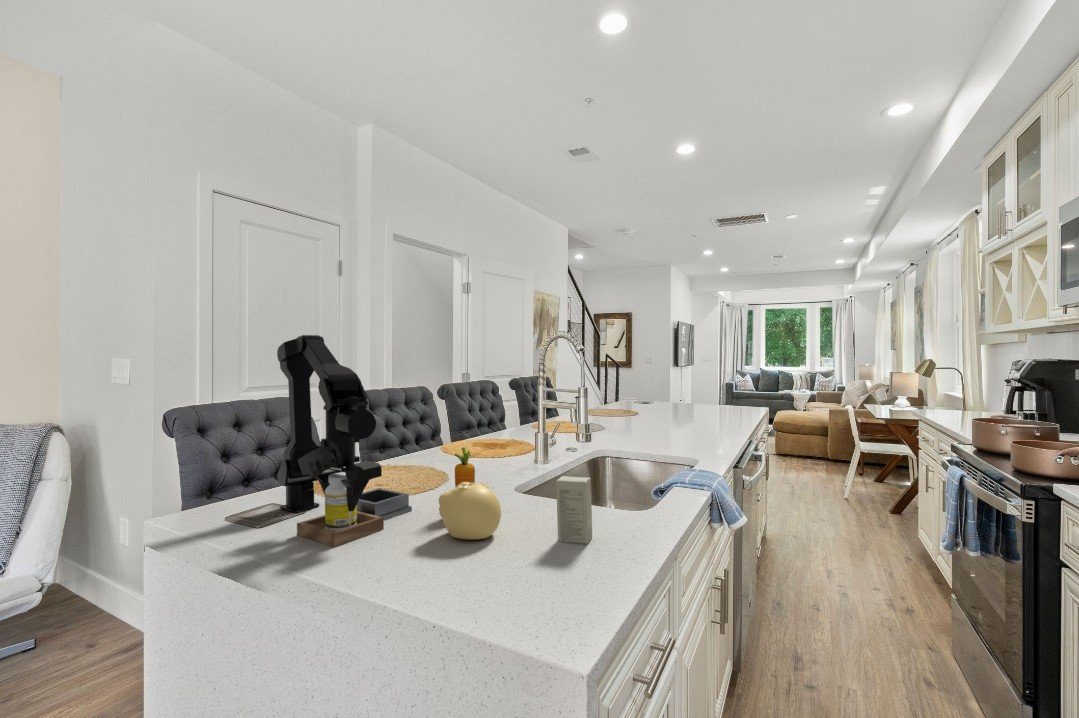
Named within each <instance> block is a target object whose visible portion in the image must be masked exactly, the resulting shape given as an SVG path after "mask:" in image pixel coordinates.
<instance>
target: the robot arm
mask: <svg viewBox="0 0 1079 718" xmlns="http://www.w3.org/2000/svg"><path fill="white" fill-rule="evenodd" d="M276 353H277V354H276V356H277V360H278V363H279V368H280V370H281V372H282V374H283V375H284V377H286V378H287V381H288V382H287V383H288V403H289V404H288V405H289V407H288V408H289V426H290V428H289V429H290V441H289V443H288V445H287V447H286V448H285V450H284V451H283V460H282V461H281V464H280V466H279V470H278V472H277V483H278V484H279V485H282V487H285V504H283V505H280V506H279V509H280V508H281V510H284V509H285V510H284V511H288V510H289V511H288V512H292V511H293V513H299V512H298V511H300V512H302V511H307V510H310V509H313V508H318V507H319V506H320V503H319V502H315V488H314V485H315V484H314V482H319V485H320V487H321V489H322V490H321V491H322V492H323V495H324V496H325V489H326V488H327V487H328V486H329V485H330V483H329V481H328V480H329V475H331V474H334V473H341V472H345V473H346V477H347V479H344V480H341V482H342V483H343V484H344V485H345V486H346V489H347V503H348V510H349V511H353V510H354V509H355V507H356V505H357V503H358V501H359V499H360V497H361V494H362V493H364V490H365V489H366V487H367V485H368V483H369V482H370V480H374V479H377V478H380V477H382V476H383V471H382V470H383V468H382V467H383V466H382V465H381V464H380V463H379V462H375V461H369V460H365V461H361V459H360V458H361V456H358V455H356V443H360V442H361V441H360V440H364V439H367V438H369V437H370V436H371V435H373V433H374V432H375V430H376V426H377V420H376V418H375V415H374V414H373V413H372V412H371V411H369V410H368V409H367V406H368V405H369V402H368V397H369V396H368V395H367V392H366V391H365V388H364V385H363V384H362V381H361V378H360V377H359V375H358V374H357V373H356V372H355V371H354V370H353V369H351V368H350V367H347V366H344V365H341V364H340V363H339V361H338V360H337V359H336V357H335V356H334V354H333V353H332V351H331V350H330V349H329V348H328V346H327V345H326V343H325V340H324V337H323V336H322V335H321V336H320V335H318V334H317V335H316V334H315V335H312V334H302V335H299V336H297V337H296V338H293V339H291V340H287V341H284V342H282V344H280V345H279V347H278V348H277V352H276ZM314 372H315V374H316V375H317V376H318V378H319V382H318V386H317V388H318V391H319V395H320V397H321V399H322V401H323V402H324V406H323V407H322V408H323V410H324V411H325V437H324V438H321V439H320V441H319V445H317V444H316V442H315V441H314V440H313V425H312V424H313V423H312V422H313V421H312V403H311V402H312V401H311V400H312V399H311V398H312V397H311V377H312V376H313V374H314Z"/></svg>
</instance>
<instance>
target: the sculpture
mask: <svg viewBox="0 0 1079 718" xmlns="http://www.w3.org/2000/svg"><path fill="white" fill-rule="evenodd" d="M438 503H439V507H438V510H439V516H440V518H441V519H442V522H443V523H444V526H445V528H446V530H447V531H448V533H449V535H450V536H451V537H453V538H456V539H459V540H461V539H462V540H471V541H472V540H482V539H486V538H489V537H491V536H492V535H493V534H494V533H495V532H496V531H497V529H498V527H499V525H500V522H501V518H502V508H501V503H500V501H499V499H498V497H497V495H496V494H495V493H494V491H492V490H491V489H490V487H489V485H487V484H485V483H484V482H475V483H469V482H462V483H460V484H458V485H457V487H454V488H452V489H450V490H448V491H445V492H444V493H442V494H440V496H439V497H438Z"/></svg>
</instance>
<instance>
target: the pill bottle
mask: <svg viewBox="0 0 1079 718" xmlns="http://www.w3.org/2000/svg"><path fill="white" fill-rule="evenodd" d="M344 479H347V477H346V473H345V472H341V473H334V474H331V475H329V480H328V481H329V483H330V485H329V486H328V487H327V488H326V489H325V495H324V515H325V527H326V528H325V529H328V530H332V531H339V530H342V529H345V528H348V527H351V526H354V525H357V505H356V507H355V509H354V510H353V511H349V510H348V503H347V489H346V486H345V485H344V484H343V483H342V482H341V480H344Z"/></svg>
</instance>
